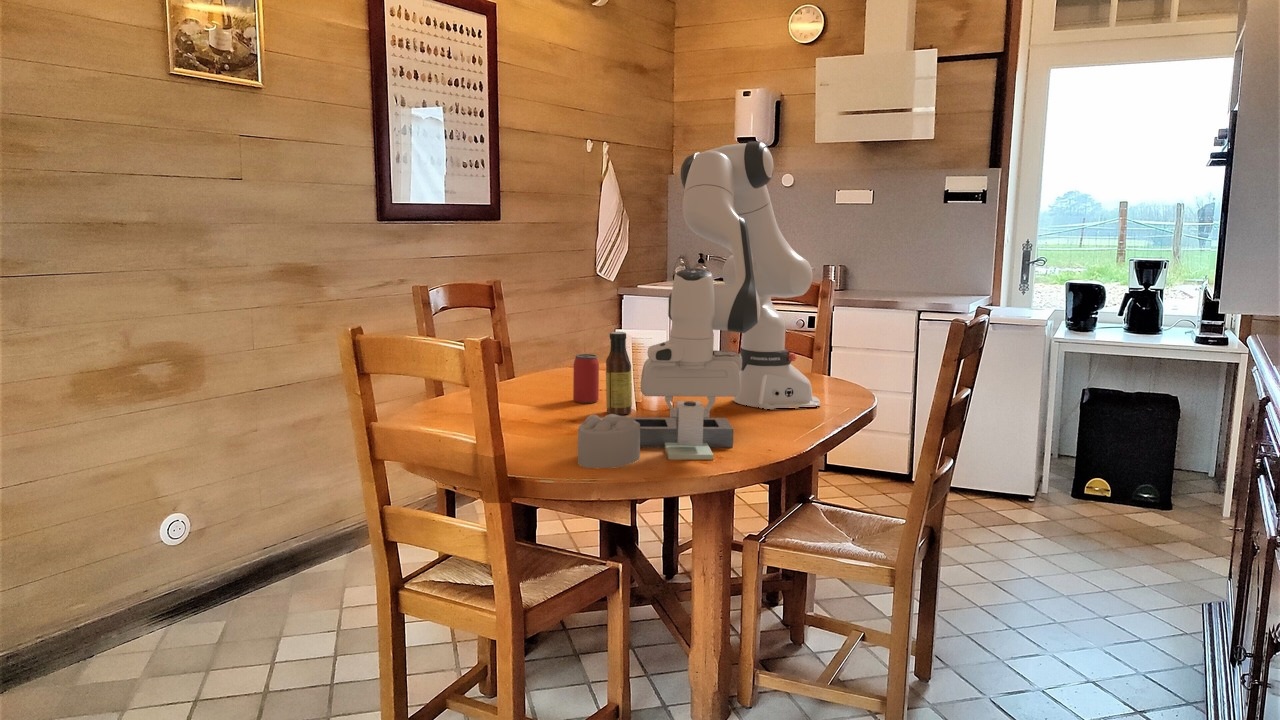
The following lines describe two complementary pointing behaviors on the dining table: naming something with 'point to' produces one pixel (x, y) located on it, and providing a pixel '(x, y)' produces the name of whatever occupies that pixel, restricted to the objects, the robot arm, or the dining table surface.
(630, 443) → the lumpy-topped squat cylinder
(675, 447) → the pad
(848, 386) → the dining table surface
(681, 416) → the grey square post
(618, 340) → the sauce bottle
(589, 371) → the beer can
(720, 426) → the rail
